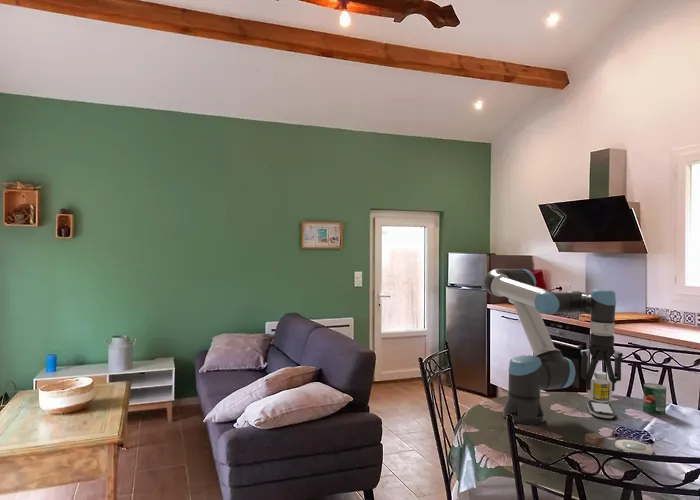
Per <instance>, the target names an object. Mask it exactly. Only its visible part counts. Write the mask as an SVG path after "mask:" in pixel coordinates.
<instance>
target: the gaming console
mask: <svg viewBox="0 0 700 500" xmlns="http://www.w3.org/2000/svg"><path fill="white" fill-rule="evenodd" d="M586 404H587V408H588V410H589V413H590V415H591V416H593V417H595V418H598V419H600V420H601V419H603V420H614V419H616V416H617V415H616V412H615V410H614V408H613V406H612V404H611V403H609V402H608V401H607V402H604V403H602V402H596V401H593V400H590V399H589V400H587V401H586Z"/></svg>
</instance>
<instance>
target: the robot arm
mask: <svg viewBox="0 0 700 500" xmlns="http://www.w3.org/2000/svg"><path fill="white" fill-rule="evenodd" d="M536 279H537V278H536V277H535V275H534V274H533V272H532V271H530V270H529V269H526V268H518V267H517V268H494V269H492V270H490V271H488V272H487V273H486V275H485V276H484V278H483V286H484V289H485V291H487V293H489V294H490V295H493V296H495V297H500V298H501V297H505V298H507V300H508V302H509V303H510V304H512V305H514V308H515V310H516V314H517V316H518V318H519V321H520V322H521V325H522V328H523V331H524V333H525V335H526V338H527V340H528V343H529V345H530V348H531V350H532V354H533V355H530V354H529V355H516V356H514V357H513V358H511V359H510V360H509V365H508V388H507V389H508V393H507V394H508V395H507V399H506V400H505V404H504V406H503V409H502V411H503V412H502V415H503V417H504V418H505V417H506V415H507V414H511V415H512V416H513V419H514V422H513V423H516V424H519V425H520V424H521V425H530V426H531V425H532V426H533V425H541V424H543V423H544V422H545V412H544V410H543V408H544V407H543V406H542V402H541V391H546V390H556V389H557V390H561V389H565V388H568V387H570V386H571V385H573V382H574V381H575V377H576V367H575V364H574V363H573V361H572V360H571V359H569V358H568V357H565V356H563V354H562V351H561V350H560V349H558V348H556V347H555V345H554V343H553V341H552V338H551V335H550V333H549V331H548V328H547V326H546V324H545V322H544V319H543V317H542V314H544V315H545V314H546V315H554V314H578V313H579V314H585V315H590V328H589V329H590V330H589V331H590V332H591V333H590V334H589V347H588V348H587V349H580V352H579V353H580V357H581V359H580V360H581V362H580V371H579V373H580V375H579V377H581V378H582V379H583V380H585V389H586V390H587V398H588V399H589V400H593V388H594V382H593V381H592V378H594V372H595V371H596V368H597V366H598V365H597V364H598V363H599V361H601V362H602V361H603V362H604V365H605V368H606V369H605V370H606V373H607V378H608V381H609V391H608V401H607V402H612V395H613V394H612V393H613V392H615V390H616V388H615V387H616V383H617V382H620V381H621V380H622V358H623V355H624V354H623V352H621V351H619V350H615V348H614V347H615V336H614V335H615V326H616V323H615V320H616V319H615V318H616V307H617V306H616V305H617V301H616V300H617V299H616V298H617V297H616V291H614V290H610V289H604V288H603V289H601V288H597V289H596V288H595V289H592V290H591V293H588V292H583V291H580V290H571V291H567V292H554V291H550V290H547V289H544V288H541V287H538V286H537V285H536V284H537V280H536ZM589 354H590V355H591V358H590V363H589V366H588V362H589V361H588V360H589V359H588V357H589ZM612 356H614V368H613V365H612V359H611V357H612Z"/></svg>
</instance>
